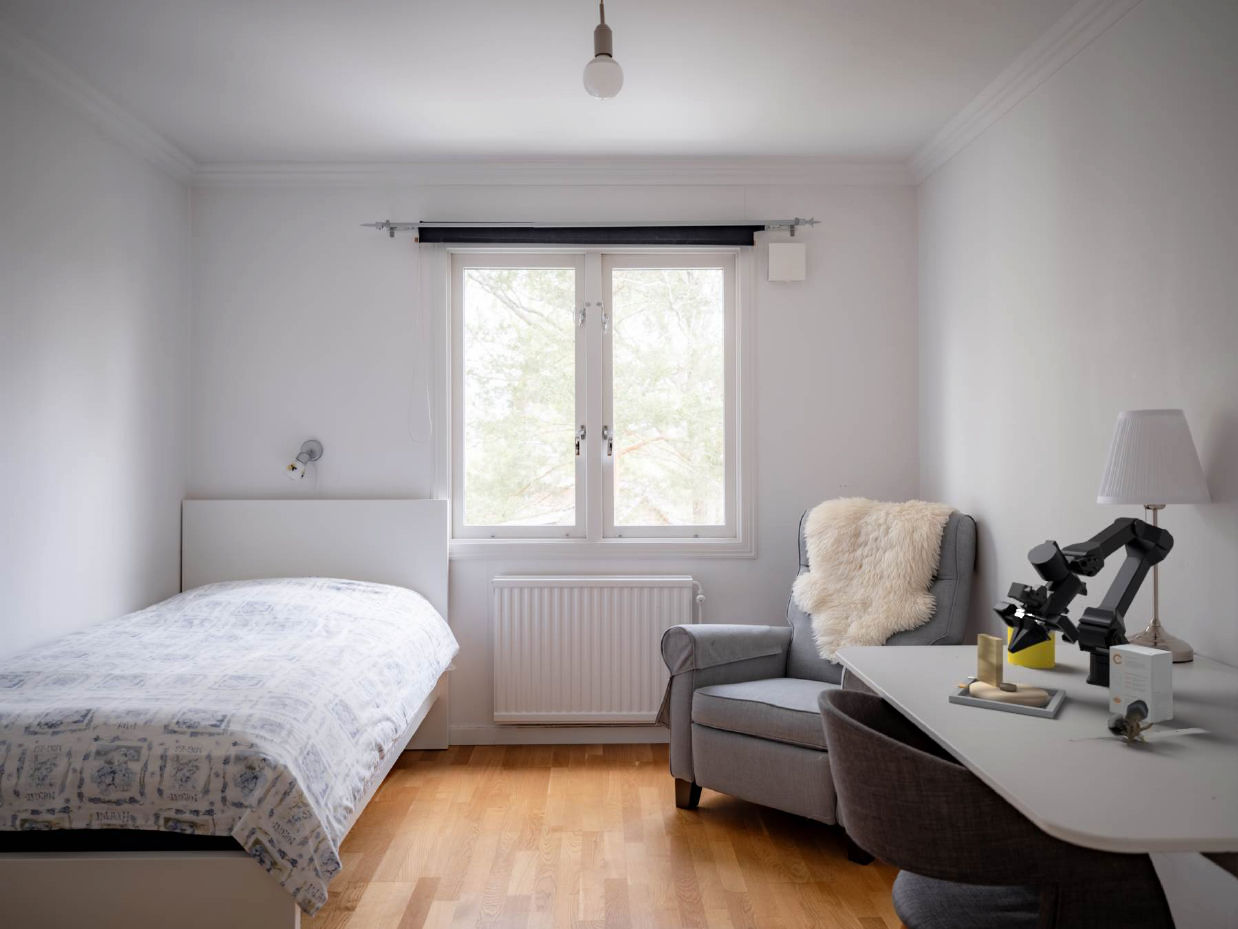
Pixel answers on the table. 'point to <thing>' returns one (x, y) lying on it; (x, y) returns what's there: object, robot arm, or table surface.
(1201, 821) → the table surface
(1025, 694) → the beige disc with bar
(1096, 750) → the table surface
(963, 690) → the bezel plate
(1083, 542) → the robot arm
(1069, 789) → the table surface
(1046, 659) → the tape roll
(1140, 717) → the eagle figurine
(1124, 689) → the small box
